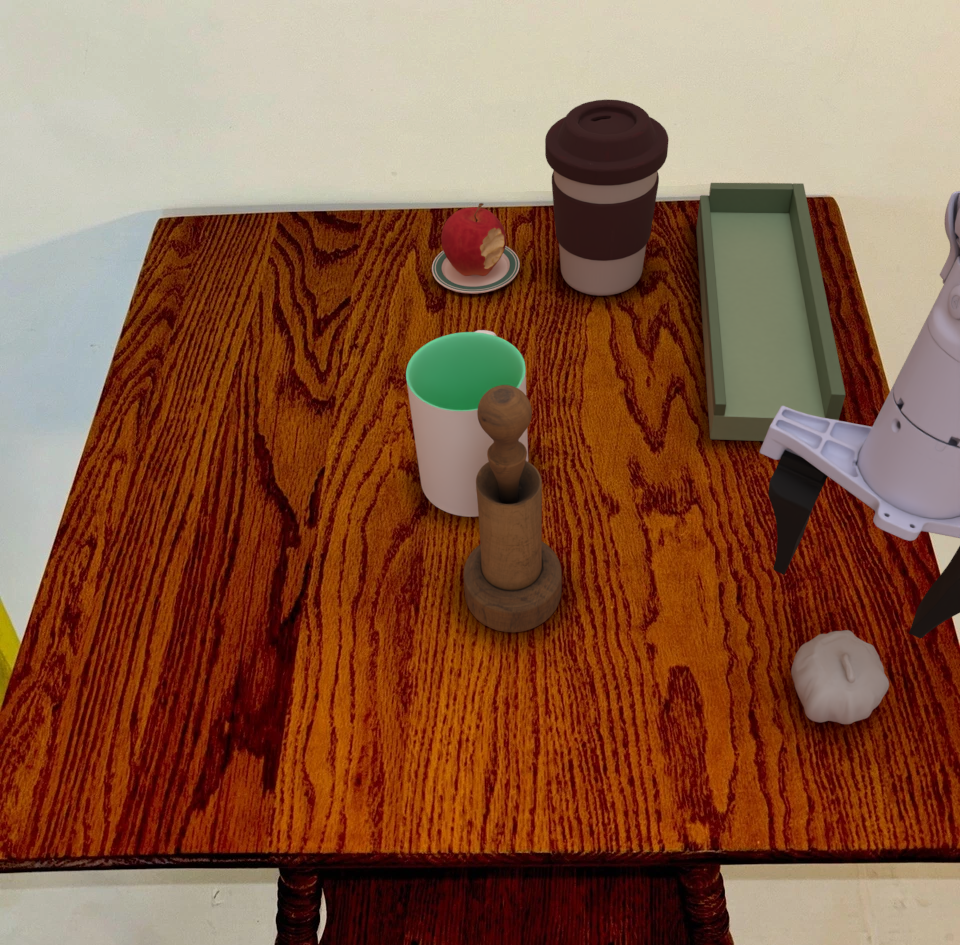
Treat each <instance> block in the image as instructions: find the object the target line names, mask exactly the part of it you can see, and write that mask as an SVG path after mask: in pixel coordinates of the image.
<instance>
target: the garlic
mask: <svg viewBox="0 0 960 945" xmlns="http://www.w3.org/2000/svg"><path fill="white" fill-rule="evenodd" d="M790 673H791V677H792V682H793V684H794V689H795V692H796V693H797V696H798V698H799V700H800V703H801V706H802V707H803V710H804V714H805V716H806V717H807V718H808V719H809V720H810V721H812V722H815V723H826V722H828V721H829V722H834V723H839V724H841V725H851V724H853V723H854V722H859V721H862V720H865V719H868V718H869V717H870V716H871V714H872V713H873V711H874V709H876V708H877V707H878V706H879V705H880V704H881V702H882V700H883V698H884V697H885V695H886V694H887V693H888V691H889V688H890V681H889V678H888V677H887V675H886V674H885V667H884V666H883V663H882V661H881V658H880V655H879V654H878V652H877V650H876V648H875V646H874V645H873V644H871V643H869V642H866V641H864V640H862V639H860V638H859V637H857V636H856V635H855V634H854V632H853V631H851V630H849V629H845V630H833V631H829V632H828V633H819V634H817V635H816V636H814V638H812V639H810V640H809V641H807V642H804V643H803V644H802V645H801V646H800V647H799V648H798V650H797V651H796V654H795V656H794V658H793V662H792V665H791V672H790Z"/></svg>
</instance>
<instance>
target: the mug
mask: <svg viewBox="0 0 960 945" xmlns="http://www.w3.org/2000/svg"><path fill="white" fill-rule="evenodd" d="M405 379H406V386H407V393H408V400H409V408H410V416H411V422H412V429H413V436H414V444H415V451H416V458H417V466H418V472H419V479H420V485H421V489H422V492H423V493H424V496H425V497H426V499H427V500H428V501H429V502H430V503H431V504H432V505H433V506H435V507H436V508H438V509H439V510H441V511H443V512H446V513H448V514H451V515H454V516H458V517H468V518H471V517H472V518H476V517H478V518H479V513H478V501H477V490H476V477H477V474H478V472H479V470H480V469H481V468H482V466H484V465H485V464H486V463H488V462H489V461H488V456H487V451H488V449H489V447H490V446H491V445H492V444H493V443H494V441H493V439H492V438H491V437H490V436H489V435H488V434H487V433H486V432H485V431H484V430H483V429H482V427H481V425H480V423H479V420H478V415H477V411H478V405H479V402H480V400H481V398H482V397H483V395H484V394H485V393H486V392H487V391H488V390H490V389H491V388H493V387H496V386H500V385H510V386H514V387H516V388H518V389H520V390H521V391H522V392H523V393H524V394H525V395H526V396H527V369H526V361H525V359H524V356H523V354H522V353H521V352H520V351H519V350H518V348H517V347H516V346H514V345H513V343H511V342H509V341H508V340H506V339H504V338H502V337H499V336H498V335H497V334H496V333H495V331H491V330H486V329H477V330H474V331H464V332H455V333H450V334H446V335H442V336H440V337H437V338H435V339H433V340H431V341H429V342H427V343H425V344H424V345H423V346H421V347H420V348H418V349H417V351H416V352H414V353H413V355H412V356H411V357H410V359H409V361H408V363H407V365H406V370H405ZM528 437H529V436H528V428H527V429H526V430H525V432H524V433H523V434H522V436H521V437H520V438H519V440H518V441H519V442H521V443H522V444H523V445H524V446H525V447H526V450H527V456H526V461H527V462H529V442H528V441H529V440H528V439H529V438H528Z"/></svg>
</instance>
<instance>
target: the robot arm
mask: <svg viewBox="0 0 960 945" xmlns="http://www.w3.org/2000/svg"><path fill="white" fill-rule="evenodd" d="M944 212H945V213H944V231H945V234H946V237H947V239H948V242H949V252H948V255H947V259H946V260H945V262H944V265H943V267H942V269H941V270H940V273H939V277H940V278H941V279H942V287H941V290H940V291H939V293H938V295H937V297H936V300H935V301H934V303H933V305H932V307H931V309H930V311H929V313H928V315H927V317H926V319H925V321H924V323H923V325H922V327H921V329H920V331H919V333H918V335H917V337H916V339H915V341H914V343H913V345H912V347H911V349H910V351H909V352H908V355H907V356H906V358H905V361H904V363H903V365H902V366H901V369H900V371H899V373H898V375H897V376H896V378H895V381H894V383H893V385H892V387H891V389H890V391H889V393H888V395H887V397H886V398H885V401H884V402H883V404H882V406H881V409H880V411H879V412H878V415H877V417H876V419H875V420H874V422H873V425H872V426H869V425H864V424H858V423H854V422H849V421H843V420H839V421H838V420H833V419H828V418H822V417H817V416H813V415H809V414H805V413H802V412H799V411H796V410H793V409H790V408H788V407H785V406H781V407H780V409H779V411H778V413H777V414H776V416H775V418H774V420H773V421H772V423H771V425H770V427H769V429H768V432H767V434H766V437H765V439H764V441H762V444H761V447H760V449H759V454H761V455H763V456H766V457H768V458H770V459H772V460H775V461H778V464H777V465H776V468H775V470H774V472H773V474H772V475H771V477H770V480H769V482H768V483H769V484H768V498H769V500H770V503H771V507H772V509H773V514H774V517H775V525H776V553H775V560H774V563H773V567H772V569H773V571H775V572H777V573H779V574H781V575H783V576H784V575H785V574H786V572H787V571H788V569H789V566H790V565H791V562H792V560H793V558H794V556H795V554H796V552H797V550H798V547H799V545H800V544H801V541H802V539H803V537H804V534H805V531H806V528H807V526H808V522H809V520H810V517H811V514H812V511H813V509H814V506H815V504H816V502H817V500H818V498H819V495H820V493H821V491H822V490H823V488H824V485H825V483H826V481H827V479H828V478H830V479H831V480H832V481H834V482H835V483H836V484H838V485H839V486H840V487H842V488H843V489H845V491H847V492H848V493H850V495H853V496H854V497H855V498H856V499H858V500H860V501H861V502H862V503H864V504H865V505H866V506H868V507H869V508H871V509H872V510H873V511H874V515H873V519H872V520H873V521H872V522H873V523H874V525H875V526H876V528H878V529H880V530H881V531H884V532H886V533H887V534H890V535H893V536H896V537H897V538H900V539H902V540H905V541H909V542H912V541H916V539H917V538H918V537H919V535H920V534H921V532H925V533H930V534H936V535H940V536H945V537H950V538H957V539H960V190H957V191H956V190H955V191H953V192H952V193H951V194H950V197H949V199H948V202H947V205H946V208H945V211H944ZM959 614H960V545H959V546H958V548H957V550H956V552H954V554H953V556H952V558H951V559H950V561H949V562H948V565H947V566H946V567H945V568H944V569H943V571H942V572H941V574H940V575H939V576H938V577H937V578H936V580H935V581H934V582H933V583H932V585H931V586H930V588H929V589H928V590H927V591H926V593H925V594H924V596H923V598H922V600H921V601H920V603H919V604H918V606H917V608H916V611H915V614H914V617H913V620H912V622H911V626H910V628H909V632H908V634H909V635H911V636H914V637H916V638H918V639H923V638H924V637H925V636H926V635H927V634H929V633H930V632H931V631H933V630H934V629H935V628H937V627H938V626H940V625H942V623H944V622H945V621H948V620H949V619H951V618H954V616H956V615H959Z"/></svg>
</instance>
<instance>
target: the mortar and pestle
mask: <svg viewBox="0 0 960 945" xmlns="http://www.w3.org/2000/svg"><path fill="white" fill-rule="evenodd" d="M477 415H478V420H479V423H480V425H481V427H482V429H483V430H484V431H485V432H486V433H487V434H488V435H489V436H490V437H491V438H492V439H493V441H494V443H493V444H492V445H491V446H490V447H489V449H488V451H487V456H488V461H489V462H488V463H486V464H485V465H484V466H482V468H481V469H480V470H479V472H478V474H477V477H476V490H477V501H478V513H479V516H478V525H479V526H478V527H479V541H480V542H479V545H477V546H476V547H475V548H474V549H473V550H472V551H471V552H470V554H469V556H468V557H467V559H466V561H465V564H464V568H463V588H464V598H465V602H466V606H467V607H468V610H469V611H470V613H471V614H472V616H473V617H474V618H475V619H476V620H477V621H478V622H480V623H481V624H482V625H484V626H486V627H487V628H490V629H492V630H496V631H498V632H504V633H521V632H522V633H523V632H527V631H530V630H533V629H535V628H537V627H538V626H539V627H540V625H542V624H543V623H545V622H546V621H547V620H548V619H549V618H551V616H552V615H554V613H555V612H556V610H557V608H558V607H559V604H560V601H561V597H562V589H563V588H562V587H563V586H562V585H563V582H562V581H563V580H562V579H563V576H562V574H563V572H562V564H561V562H560V560H559V557H558V556H557V554H556V552H555V551H554V550H553V549H552V548H551V547H550V546H549V545H548V544H547V543H546V542H544V541H543V539H542V537H543V536H542V535H543V534H542V532H543V530H542V529H543V528H542V526H543V525H542V524H543V523H542V521H543V520H542V519H543V518H542V517H543V516H542V515H543V514H542V512H543V511H542V510H543V509H542V508H543V506H542V505H543V504H542V502H543V501H542V498H543V496H542V495H543V481H542V475H541V473H540V471H539V470H538V469H537V468H536V466H535V465H534V464H533V463H531V462H529V461H528V462H527V461H526V456H527V450H526V447H525V446H524V445H523V444H522V443H521V442H519V441H518V440H519V438H520V437H521V436H522V434H523V433H524V432H525V430H526V429H527V430H528V427H529V426H530V423H531V421H532V416H533V409H532V405H531V402H530V400H529V398H528V396H527V394H526V395H525V394H524V393H523V392H522V391H521V390H520V389H518V388H516V387H514V386H510V385H500V386H496V387H493V388H491V389H490V390H488V391H487V392H486V393H485V394H484V395H483V397H482V398H481V400H480V402H479V405H478V411H477Z"/></svg>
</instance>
